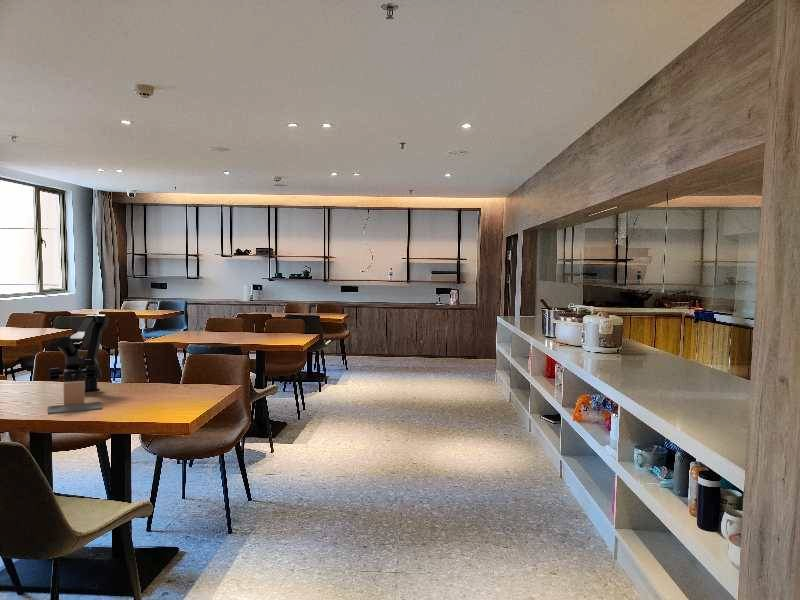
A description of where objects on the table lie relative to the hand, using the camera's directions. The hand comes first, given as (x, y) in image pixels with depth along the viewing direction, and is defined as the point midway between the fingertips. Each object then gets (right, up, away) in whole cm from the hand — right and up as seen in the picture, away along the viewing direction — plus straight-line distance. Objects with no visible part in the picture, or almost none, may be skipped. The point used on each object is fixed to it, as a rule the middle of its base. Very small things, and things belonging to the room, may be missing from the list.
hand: (73, 388), depth 258 cm
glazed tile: (+1, -7, -2) cm, 7 cm away
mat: (+6, -7, -10) cm, 14 cm away
